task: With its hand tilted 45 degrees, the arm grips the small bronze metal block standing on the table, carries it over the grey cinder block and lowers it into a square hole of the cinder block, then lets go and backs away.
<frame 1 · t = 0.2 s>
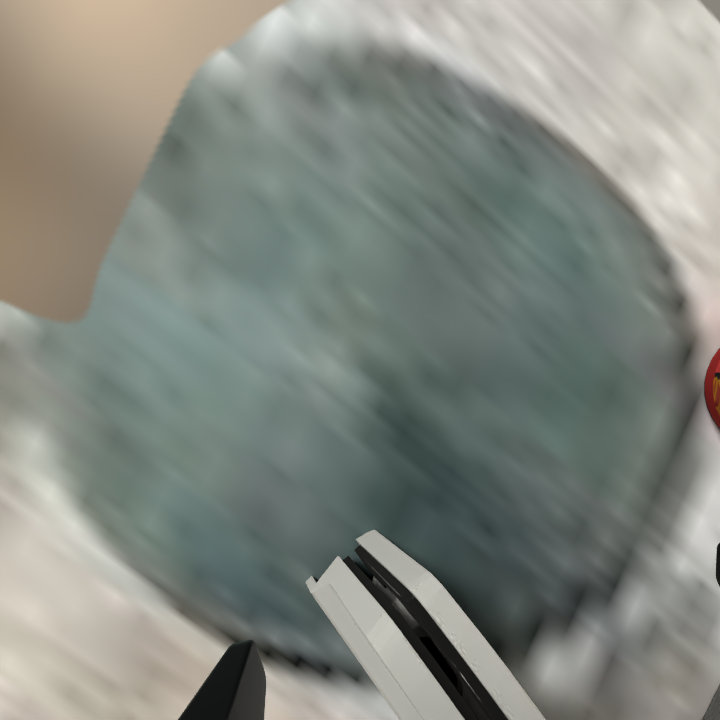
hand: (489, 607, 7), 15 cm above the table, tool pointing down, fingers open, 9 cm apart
game console: (437, 650, 23), on the table
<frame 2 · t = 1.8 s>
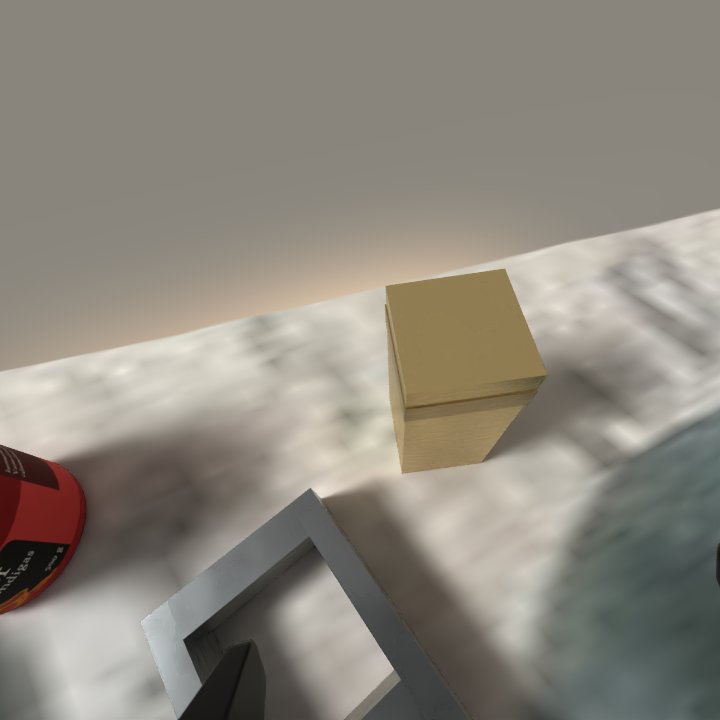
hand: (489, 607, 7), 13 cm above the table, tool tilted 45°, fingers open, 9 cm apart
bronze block: (433, 430, 23), on the table
canned food: (26, 534, 22), on the table
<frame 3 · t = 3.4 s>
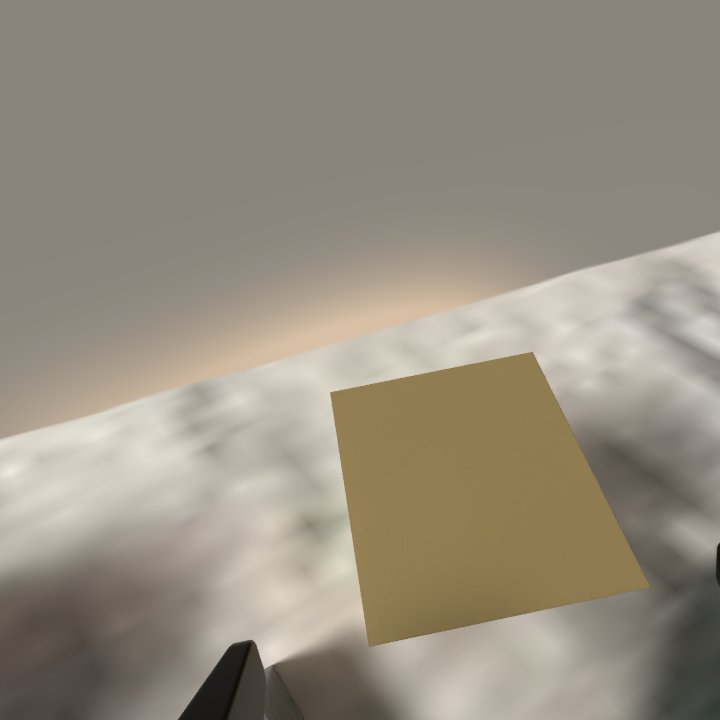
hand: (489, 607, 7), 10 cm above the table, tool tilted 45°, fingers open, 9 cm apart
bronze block: (428, 543, 17), on the table
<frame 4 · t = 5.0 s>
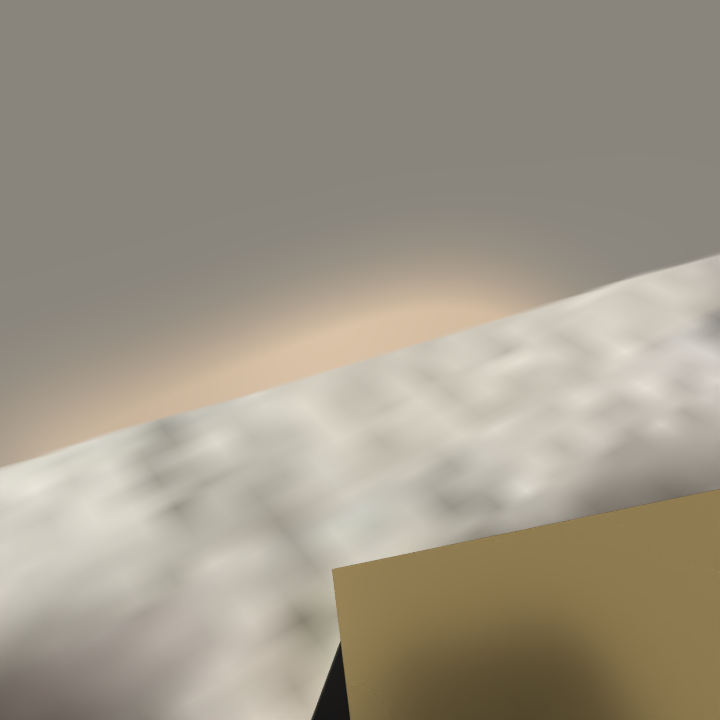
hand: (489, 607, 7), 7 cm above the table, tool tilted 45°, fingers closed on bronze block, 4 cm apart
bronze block: (463, 651, 12), on the table, touching gripper
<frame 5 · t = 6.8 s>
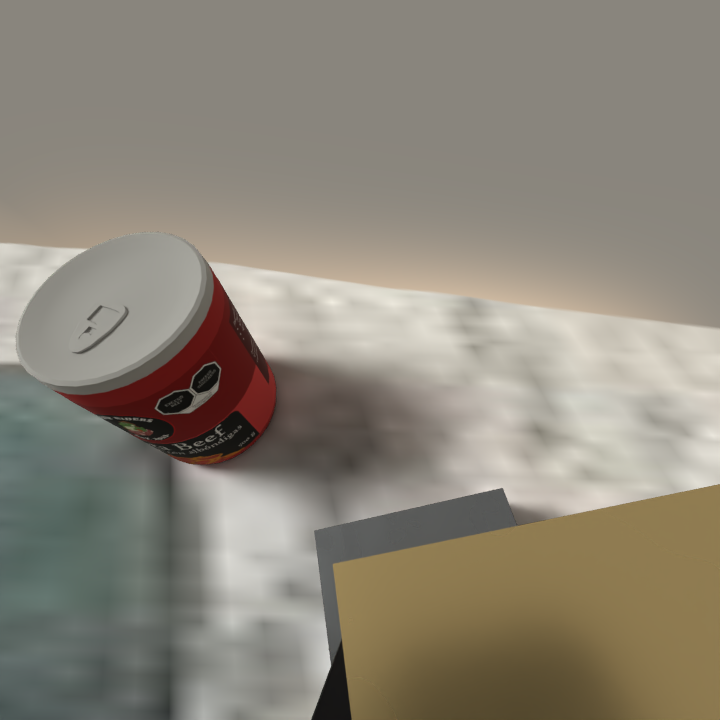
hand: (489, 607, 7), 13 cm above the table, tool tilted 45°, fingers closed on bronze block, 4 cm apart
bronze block: (463, 650, 12), point 7 cm above the table, touching gripper
canned food: (222, 408, 25), on the table
when the fingers open (8 cm above the table, at t = 8.5 s): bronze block drops 1 cm, resting in grey cinder block.
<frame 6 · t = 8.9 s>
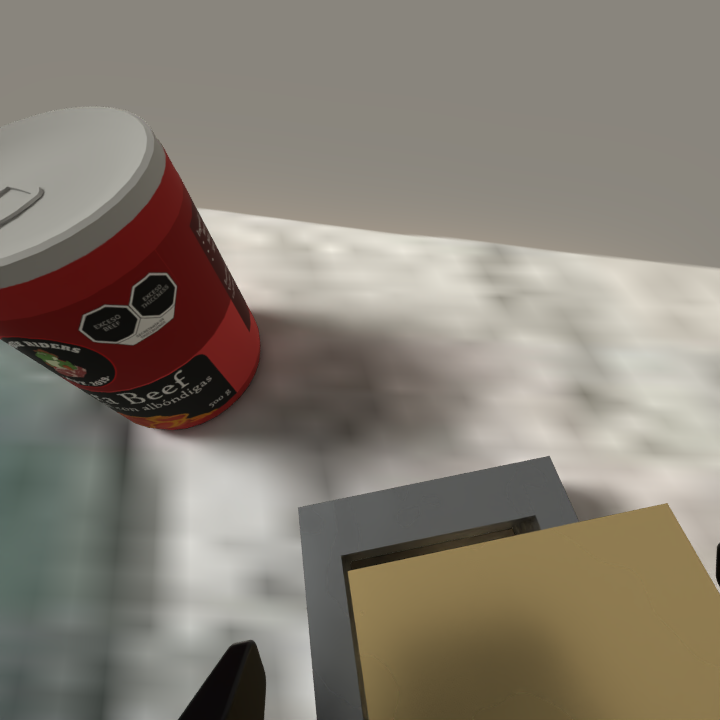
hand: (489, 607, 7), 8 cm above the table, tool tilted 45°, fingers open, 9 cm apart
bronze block: (458, 643, 14), resting in grey cinder block
canned food: (195, 366, 21), on the table
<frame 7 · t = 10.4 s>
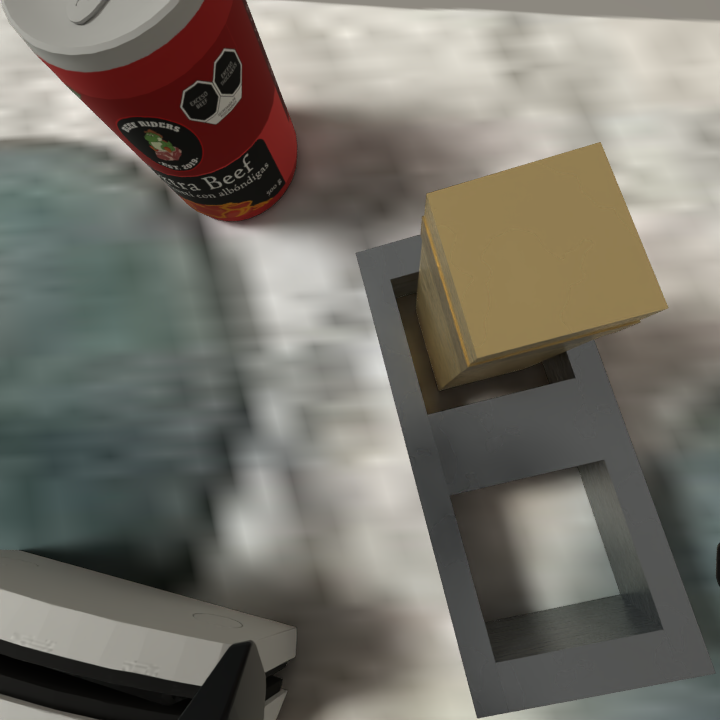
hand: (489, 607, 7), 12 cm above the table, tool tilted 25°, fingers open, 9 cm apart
game console: (148, 606, 20), on the table
grey cinder block: (496, 433, 19), on the table
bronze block: (468, 338, 20), resting in grey cinder block
canned food: (241, 167, 24), on the table
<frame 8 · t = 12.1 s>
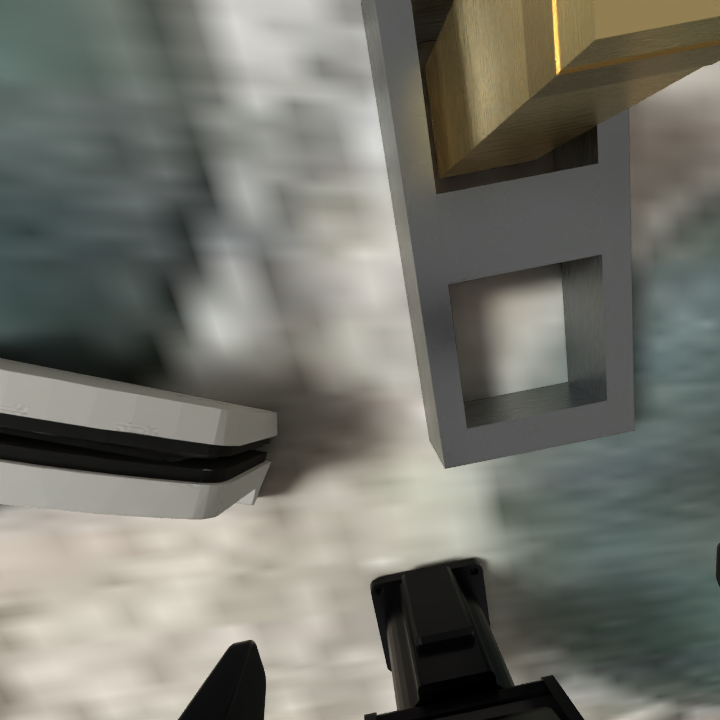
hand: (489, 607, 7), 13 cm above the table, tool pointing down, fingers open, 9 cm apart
game console: (114, 399, 20), on the table
grey cinder block: (492, 232, 18), on the table
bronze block: (481, 115, 17), resting in grey cinder block
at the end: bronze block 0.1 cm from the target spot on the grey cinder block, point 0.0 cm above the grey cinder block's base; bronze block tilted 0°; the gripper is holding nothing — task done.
